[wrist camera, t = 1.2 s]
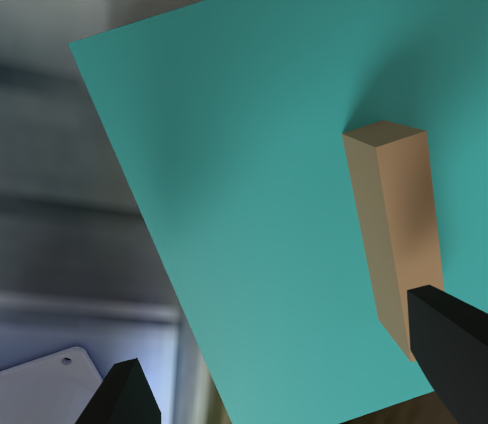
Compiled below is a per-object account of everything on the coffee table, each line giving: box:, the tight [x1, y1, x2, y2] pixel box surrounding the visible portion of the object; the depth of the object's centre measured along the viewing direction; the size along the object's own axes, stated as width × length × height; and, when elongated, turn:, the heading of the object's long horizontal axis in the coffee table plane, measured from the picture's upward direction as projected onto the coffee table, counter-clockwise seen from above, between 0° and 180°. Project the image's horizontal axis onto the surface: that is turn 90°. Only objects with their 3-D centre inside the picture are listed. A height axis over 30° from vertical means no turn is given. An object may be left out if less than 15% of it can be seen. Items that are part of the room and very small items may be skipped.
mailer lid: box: [68, 0, 488, 424], centre depth 13 cm, size 14×18×3 cm
